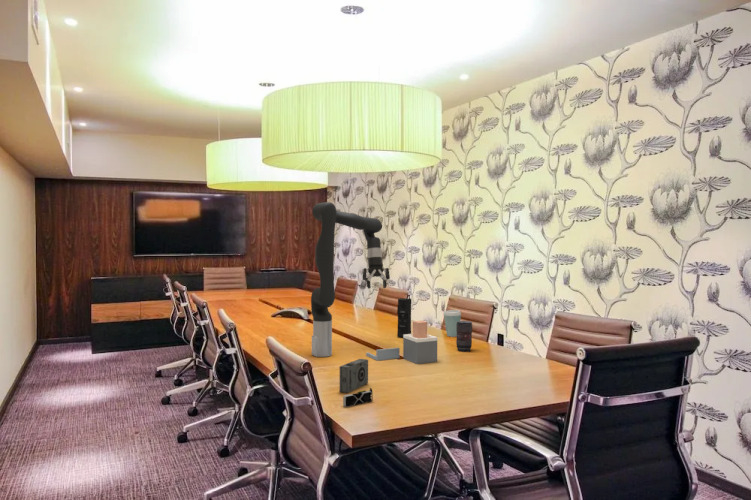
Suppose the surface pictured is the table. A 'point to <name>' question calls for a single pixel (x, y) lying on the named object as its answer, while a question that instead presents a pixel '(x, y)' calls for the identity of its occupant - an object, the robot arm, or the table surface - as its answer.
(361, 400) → the graphics card
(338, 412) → the table surface
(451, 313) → the disposable coffee cup
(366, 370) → the camera
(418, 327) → the plug block
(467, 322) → the camera lens
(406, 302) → the portable radio
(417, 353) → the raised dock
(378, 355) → the low dock
